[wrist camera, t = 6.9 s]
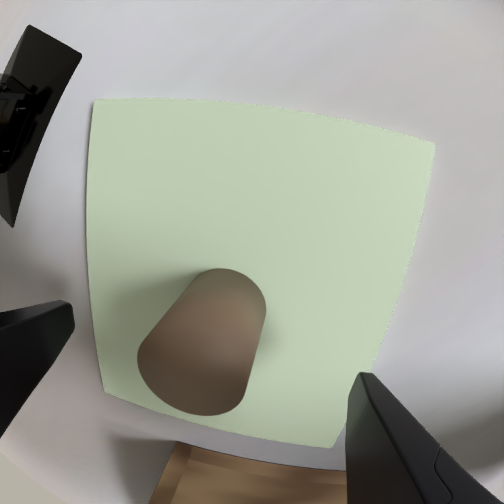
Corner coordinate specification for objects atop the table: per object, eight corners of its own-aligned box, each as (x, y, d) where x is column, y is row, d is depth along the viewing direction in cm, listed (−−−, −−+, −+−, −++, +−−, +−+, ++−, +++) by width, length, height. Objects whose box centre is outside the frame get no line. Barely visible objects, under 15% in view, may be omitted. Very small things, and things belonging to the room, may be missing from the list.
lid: (423, 144, 10) (503, 145, 5) (331, 431, 14) (331, 515, 9) (111, 102, 11) (16, 91, 6) (114, 379, 16) (66, 441, 11)
